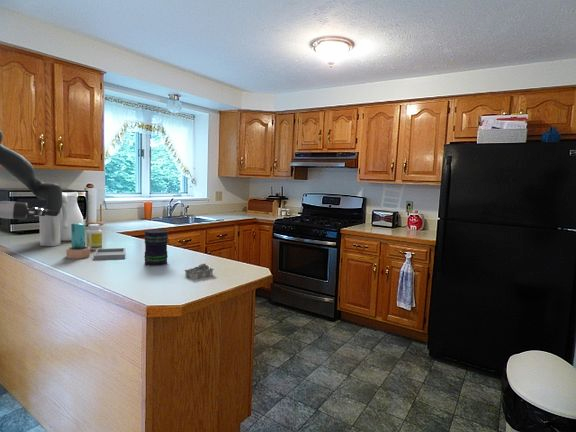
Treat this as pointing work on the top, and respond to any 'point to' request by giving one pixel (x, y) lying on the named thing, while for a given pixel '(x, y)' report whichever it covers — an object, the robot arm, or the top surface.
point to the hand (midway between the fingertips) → (57, 213)
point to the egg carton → (199, 271)
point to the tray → (109, 253)
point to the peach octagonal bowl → (77, 253)
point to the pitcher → (69, 214)
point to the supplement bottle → (94, 237)
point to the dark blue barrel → (156, 247)
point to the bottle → (78, 236)
